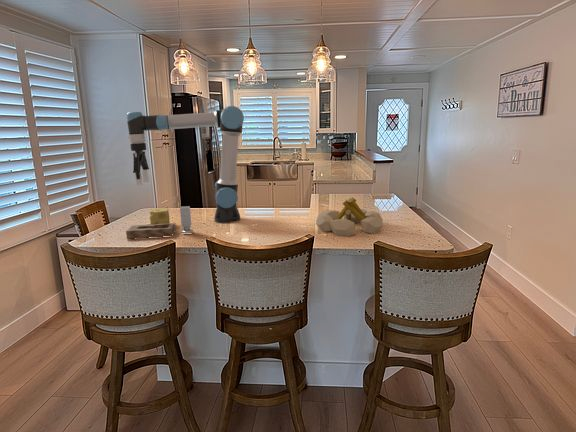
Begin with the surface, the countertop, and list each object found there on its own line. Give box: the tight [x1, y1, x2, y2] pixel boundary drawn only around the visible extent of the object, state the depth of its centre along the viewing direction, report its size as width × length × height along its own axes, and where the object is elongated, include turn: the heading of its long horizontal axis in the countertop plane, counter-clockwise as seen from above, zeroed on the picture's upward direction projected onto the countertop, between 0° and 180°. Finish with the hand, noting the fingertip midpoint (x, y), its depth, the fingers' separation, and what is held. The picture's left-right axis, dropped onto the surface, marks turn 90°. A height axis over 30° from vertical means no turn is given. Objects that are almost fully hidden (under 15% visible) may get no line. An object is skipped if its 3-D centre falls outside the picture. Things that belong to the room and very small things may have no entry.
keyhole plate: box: [125, 222, 176, 240], centre depth 210 cm, size 22×12×4 cm, turn 96°
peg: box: [179, 205, 194, 233], centre depth 211 cm, size 6×6×14 cm
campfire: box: [315, 197, 383, 237], centre depth 211 cm, size 35×34×17 cm
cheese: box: [149, 207, 170, 224], centre depth 227 cm, size 10×11×10 cm
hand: (143, 183), depth 214 cm, fingers open, 13 cm apart
